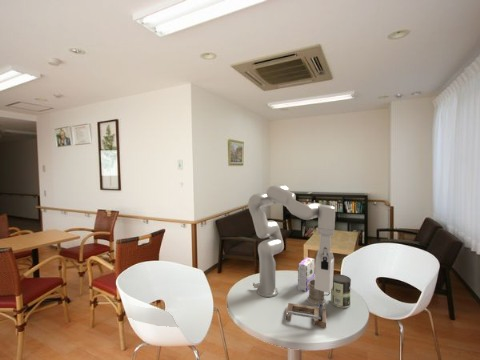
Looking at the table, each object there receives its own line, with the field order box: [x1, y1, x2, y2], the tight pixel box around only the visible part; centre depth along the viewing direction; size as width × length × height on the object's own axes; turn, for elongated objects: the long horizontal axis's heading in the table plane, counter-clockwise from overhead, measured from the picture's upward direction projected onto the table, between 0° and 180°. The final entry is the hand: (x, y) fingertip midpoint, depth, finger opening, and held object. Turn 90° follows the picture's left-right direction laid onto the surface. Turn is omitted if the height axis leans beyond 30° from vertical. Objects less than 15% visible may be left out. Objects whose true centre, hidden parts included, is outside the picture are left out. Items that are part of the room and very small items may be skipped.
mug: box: [306, 279, 331, 305], centre depth 142 cm, size 14×10×12 cm
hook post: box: [318, 302, 324, 321], centre depth 121 cm, size 2×4×8 cm, turn 163°
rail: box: [287, 311, 321, 322], centre depth 123 cm, size 16×1×4 cm, turn 73°
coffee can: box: [330, 273, 352, 309], centre depth 141 cm, size 10×10×14 cm
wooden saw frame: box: [285, 302, 327, 329], centre depth 128 cm, size 19×12×2 cm, turn 73°
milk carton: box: [314, 248, 335, 294], centre depth 125 cm, size 7×7×19 cm
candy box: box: [297, 256, 316, 293], centre depth 160 cm, size 14×6×16 cm, turn 144°
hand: (324, 265), depth 125 cm, fingers closed on milk carton, 8 cm apart
